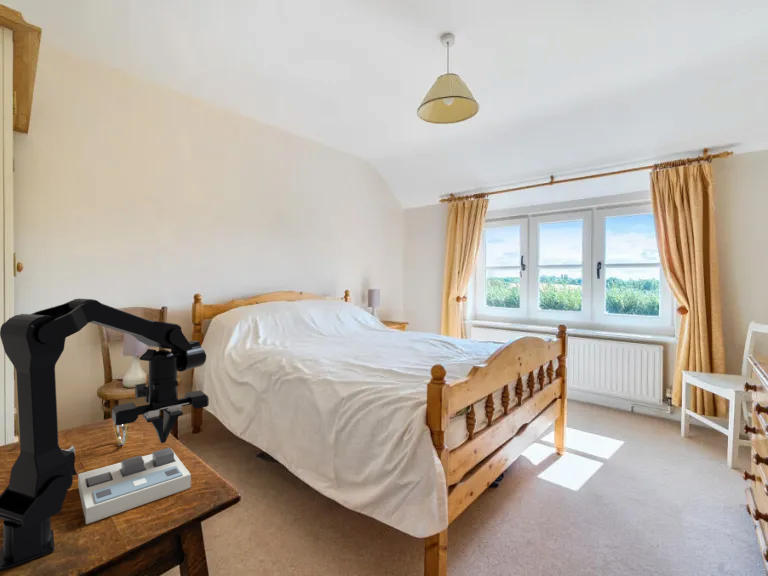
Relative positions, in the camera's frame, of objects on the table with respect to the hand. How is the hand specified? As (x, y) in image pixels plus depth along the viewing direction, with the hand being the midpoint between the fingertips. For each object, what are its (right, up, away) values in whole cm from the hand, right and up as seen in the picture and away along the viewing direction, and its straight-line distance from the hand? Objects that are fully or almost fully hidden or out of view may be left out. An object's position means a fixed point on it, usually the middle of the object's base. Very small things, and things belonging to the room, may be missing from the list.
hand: (162, 442), depth 86 cm
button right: (0, -5, 0) cm, 5 cm away
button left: (-9, -7, -8) cm, 14 cm away
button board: (-3, -8, -6) cm, 10 cm away
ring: (-20, -7, +14) cm, 25 cm away
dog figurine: (-29, -7, +6) cm, 30 cm away
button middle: (-4, -5, -4) cm, 8 cm away
